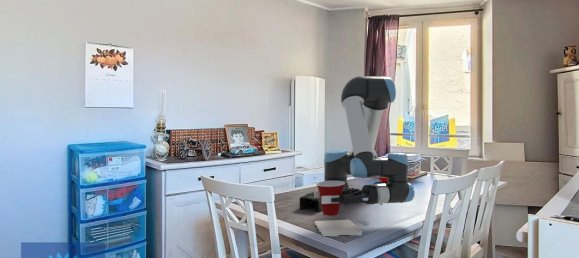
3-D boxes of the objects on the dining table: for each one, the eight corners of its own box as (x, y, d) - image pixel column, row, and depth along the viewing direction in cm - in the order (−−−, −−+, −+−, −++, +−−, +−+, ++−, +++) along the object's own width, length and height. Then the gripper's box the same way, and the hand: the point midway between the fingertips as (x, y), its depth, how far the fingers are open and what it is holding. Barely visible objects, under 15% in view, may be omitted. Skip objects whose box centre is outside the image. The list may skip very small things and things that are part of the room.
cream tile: (314, 223, 133) (314, 221, 133) (349, 222, 135) (349, 219, 135) (322, 236, 120) (322, 233, 120) (361, 235, 121) (361, 232, 121)
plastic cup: (325, 208, 137) (326, 178, 137) (350, 213, 130) (350, 181, 130) (309, 214, 129) (310, 182, 128) (334, 219, 122) (335, 186, 121)
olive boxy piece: (317, 199, 170) (317, 187, 170) (336, 202, 166) (336, 190, 165) (298, 210, 153) (298, 196, 152) (318, 214, 148) (318, 199, 148)
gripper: (387, 211, 123) (327, 215, 118) (362, 197, 144) (310, 200, 139) (388, 190, 123) (327, 193, 118) (363, 179, 143) (310, 181, 138)
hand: (318, 197), depth 128 cm, fingers closed on plastic cup, 8 cm apart
